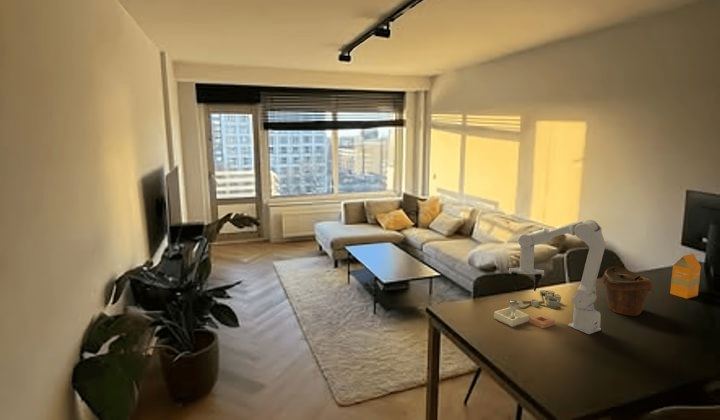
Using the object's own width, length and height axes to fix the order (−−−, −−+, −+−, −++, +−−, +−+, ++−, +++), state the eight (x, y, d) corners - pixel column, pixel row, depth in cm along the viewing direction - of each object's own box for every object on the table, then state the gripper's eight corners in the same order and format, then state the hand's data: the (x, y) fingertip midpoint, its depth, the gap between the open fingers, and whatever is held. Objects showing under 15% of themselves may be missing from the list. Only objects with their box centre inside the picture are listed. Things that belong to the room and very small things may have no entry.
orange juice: (669, 293, 208) (673, 254, 205) (680, 290, 212) (684, 251, 208) (687, 298, 201) (692, 258, 198) (698, 295, 205) (702, 255, 201)
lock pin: (517, 319, 182) (518, 301, 180) (512, 321, 180) (513, 303, 179) (511, 316, 184) (512, 299, 183) (506, 318, 183) (507, 300, 181)
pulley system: (573, 302, 202) (544, 292, 214) (574, 293, 201) (545, 283, 213) (540, 319, 187) (511, 307, 198) (541, 309, 185) (512, 297, 197)
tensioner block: (554, 324, 177) (554, 320, 177) (543, 328, 174) (543, 324, 173) (540, 318, 183) (540, 314, 183) (528, 322, 180) (529, 317, 179)
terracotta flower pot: (651, 322, 177) (654, 281, 174) (596, 311, 189) (599, 273, 186) (653, 309, 191) (657, 270, 188) (603, 299, 203) (605, 263, 200)
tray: (528, 321, 180) (529, 314, 180) (512, 327, 176) (512, 320, 175) (510, 313, 189) (510, 307, 189) (493, 318, 184) (494, 311, 184)
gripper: (509, 261, 186) (508, 291, 189) (545, 263, 182) (544, 294, 184) (509, 257, 193) (508, 285, 195) (543, 259, 189) (542, 288, 191)
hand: (525, 289), depth 190 cm, fingers open, 7 cm apart
